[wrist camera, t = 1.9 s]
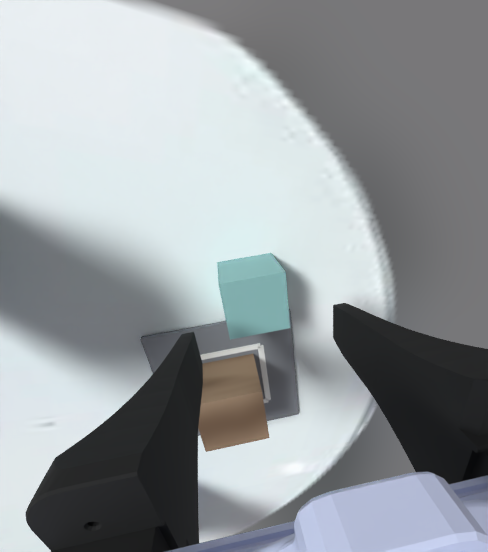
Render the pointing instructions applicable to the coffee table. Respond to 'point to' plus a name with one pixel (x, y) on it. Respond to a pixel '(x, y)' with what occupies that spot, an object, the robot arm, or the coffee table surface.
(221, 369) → the walnut block
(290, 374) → the mat
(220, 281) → the teal cube
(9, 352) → the coffee table surface
